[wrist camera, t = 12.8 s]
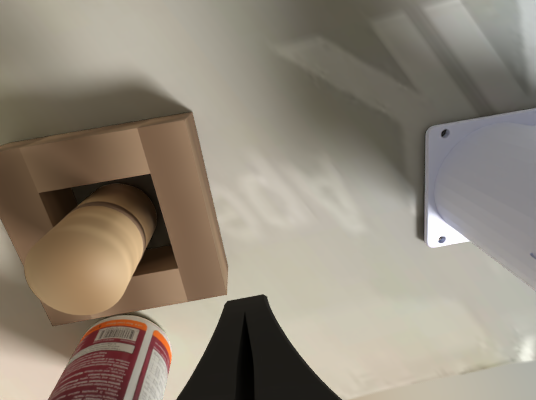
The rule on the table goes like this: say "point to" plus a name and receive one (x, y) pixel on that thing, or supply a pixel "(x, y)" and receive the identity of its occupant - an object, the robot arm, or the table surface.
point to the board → (111, 168)
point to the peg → (92, 251)
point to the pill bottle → (117, 362)
